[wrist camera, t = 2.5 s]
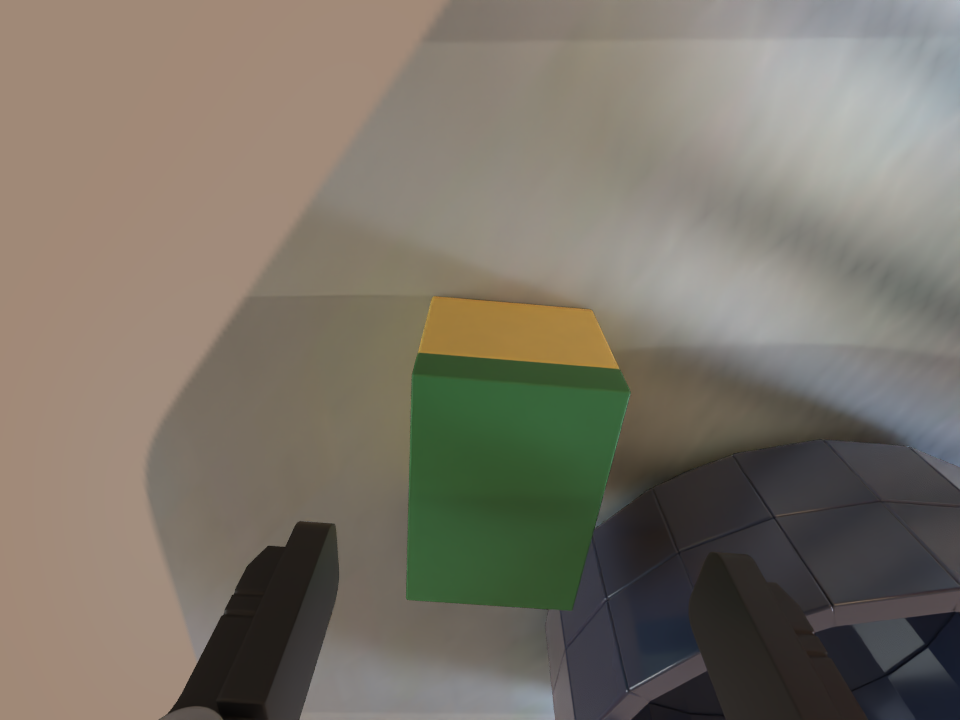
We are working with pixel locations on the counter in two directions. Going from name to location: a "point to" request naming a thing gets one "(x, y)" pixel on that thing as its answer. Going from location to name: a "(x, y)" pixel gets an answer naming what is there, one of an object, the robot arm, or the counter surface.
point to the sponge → (508, 452)
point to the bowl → (774, 580)
